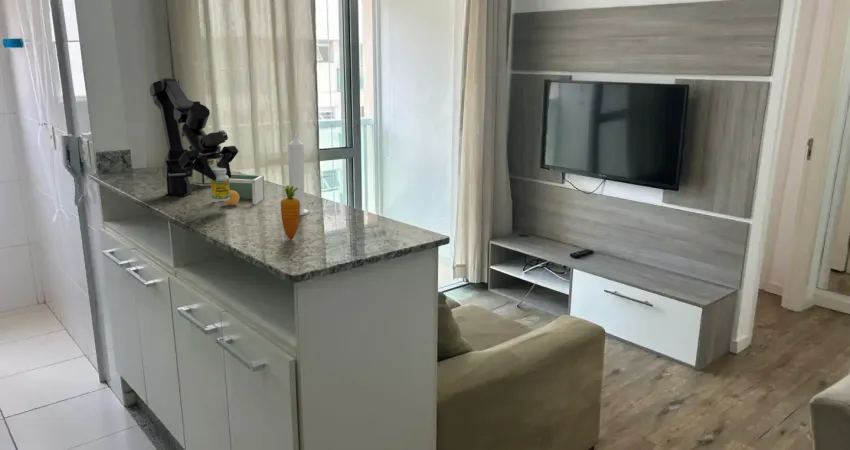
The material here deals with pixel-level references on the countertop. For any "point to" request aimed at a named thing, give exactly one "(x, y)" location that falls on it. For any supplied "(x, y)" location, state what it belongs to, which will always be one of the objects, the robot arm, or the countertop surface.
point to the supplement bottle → (220, 185)
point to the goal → (248, 186)
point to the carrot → (290, 212)
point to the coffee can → (202, 179)
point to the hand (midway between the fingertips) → (222, 178)
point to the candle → (297, 171)
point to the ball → (233, 198)
